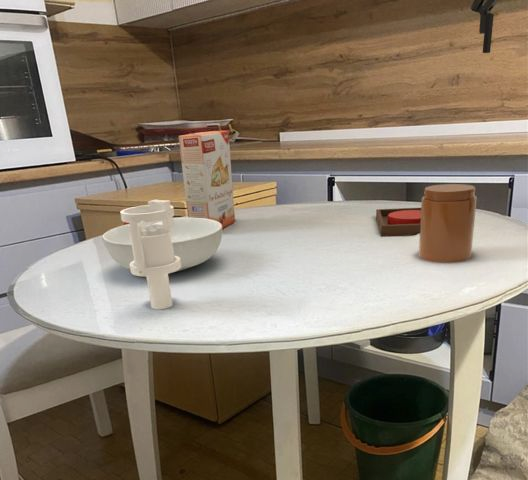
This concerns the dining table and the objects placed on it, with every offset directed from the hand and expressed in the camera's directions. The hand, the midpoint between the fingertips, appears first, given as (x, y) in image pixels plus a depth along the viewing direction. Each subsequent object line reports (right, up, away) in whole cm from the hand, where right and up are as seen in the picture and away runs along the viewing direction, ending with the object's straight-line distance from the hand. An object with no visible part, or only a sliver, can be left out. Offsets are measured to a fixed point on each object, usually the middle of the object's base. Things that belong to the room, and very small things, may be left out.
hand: (524, 49), depth 100 cm
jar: (-19, -41, -11) cm, 47 cm away
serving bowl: (-66, -42, -4) cm, 79 cm away
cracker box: (-61, -28, +25) cm, 71 cm away
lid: (-18, -29, +12) cm, 36 cm away
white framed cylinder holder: (-64, -51, -23) cm, 85 cm away
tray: (-18, -30, +13) cm, 37 cm away
